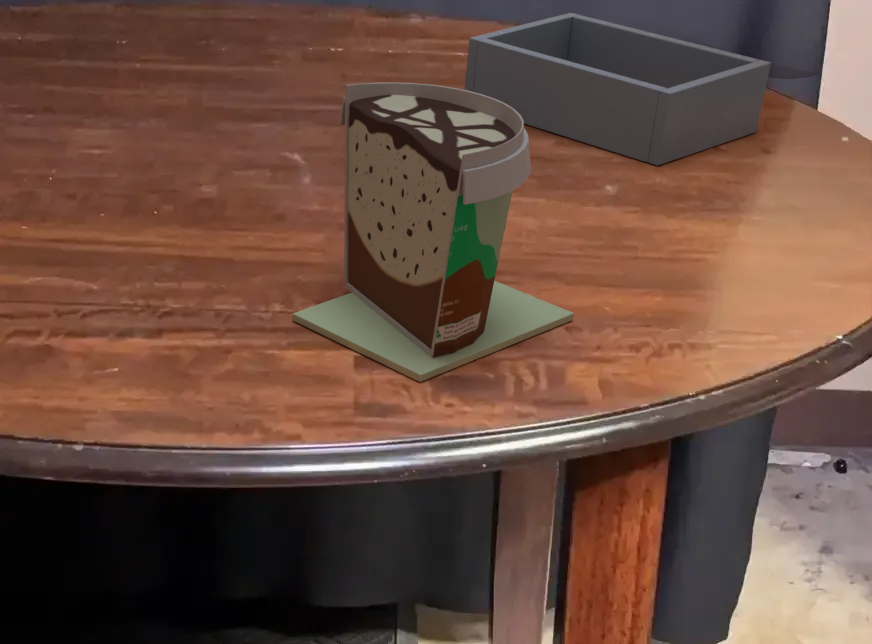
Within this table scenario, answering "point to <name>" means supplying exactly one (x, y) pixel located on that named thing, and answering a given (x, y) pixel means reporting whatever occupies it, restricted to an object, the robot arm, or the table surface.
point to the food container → (428, 205)
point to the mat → (382, 342)
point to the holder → (619, 86)
